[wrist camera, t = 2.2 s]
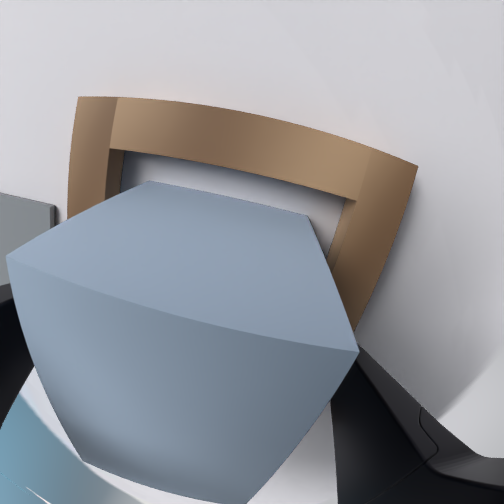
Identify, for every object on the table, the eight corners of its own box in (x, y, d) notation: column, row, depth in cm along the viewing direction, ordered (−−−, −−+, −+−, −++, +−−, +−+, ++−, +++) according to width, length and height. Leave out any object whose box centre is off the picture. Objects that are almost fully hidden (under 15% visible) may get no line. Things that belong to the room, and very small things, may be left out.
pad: (54, 204, 9) (49, 207, 9) (76, 369, 12) (74, 373, 12) (-30, 186, 9) (-34, 187, 8) (-4, 326, 12) (-7, 328, 12)
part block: (307, 215, 9) (359, 352, 3) (255, 374, 11) (243, 506, 6) (150, 180, 9) (5, 256, 3) (140, 345, 11) (82, 460, 6)
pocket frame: (403, 162, 8) (418, 166, 7) (293, 416, 12) (294, 432, 11) (95, 98, 7) (78, 96, 6) (96, 367, 12) (88, 380, 11)
